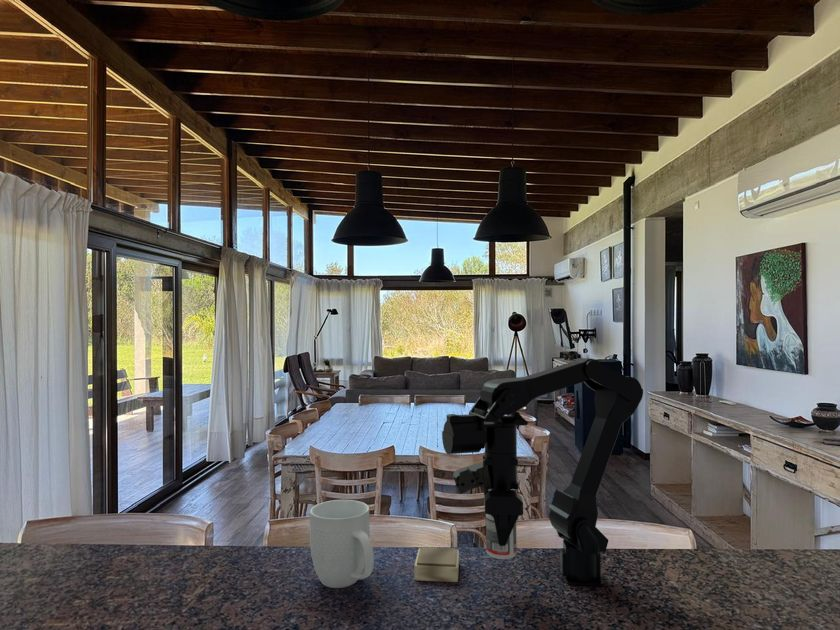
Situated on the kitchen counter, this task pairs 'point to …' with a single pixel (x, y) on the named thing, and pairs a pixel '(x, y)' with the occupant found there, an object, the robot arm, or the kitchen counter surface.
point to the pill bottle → (493, 544)
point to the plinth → (437, 564)
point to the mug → (341, 542)
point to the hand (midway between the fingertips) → (501, 539)
